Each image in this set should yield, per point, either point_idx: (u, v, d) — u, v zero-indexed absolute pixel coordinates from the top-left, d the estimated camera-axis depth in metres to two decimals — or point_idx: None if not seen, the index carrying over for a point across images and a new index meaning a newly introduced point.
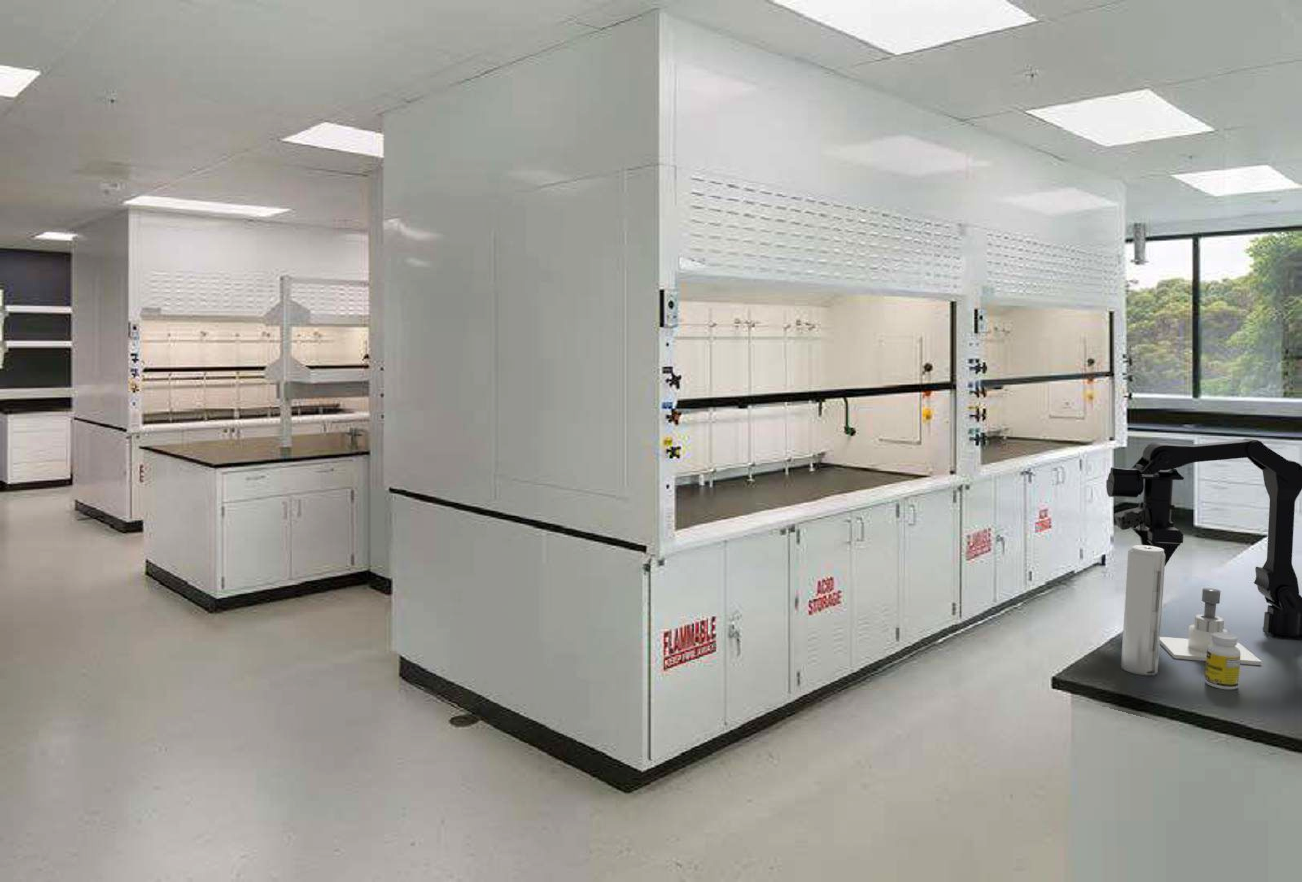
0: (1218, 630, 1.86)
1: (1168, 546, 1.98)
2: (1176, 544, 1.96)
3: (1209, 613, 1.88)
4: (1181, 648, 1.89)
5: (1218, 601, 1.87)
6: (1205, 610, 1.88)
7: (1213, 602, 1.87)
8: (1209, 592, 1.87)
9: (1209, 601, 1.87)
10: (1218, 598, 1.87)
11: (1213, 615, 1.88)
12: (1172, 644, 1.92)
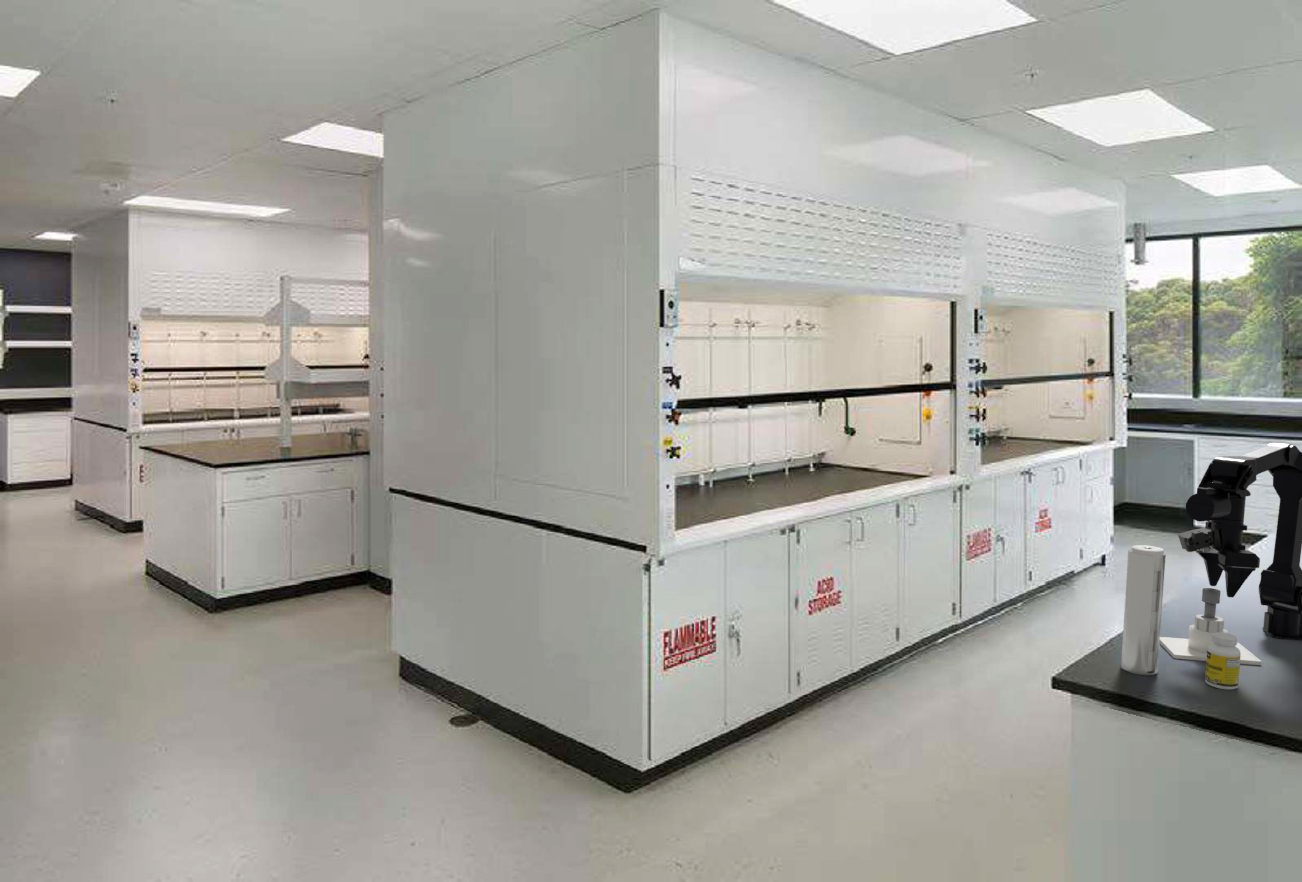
0: (1218, 630, 1.86)
1: (1241, 571, 1.81)
2: (1251, 569, 1.78)
3: (1209, 613, 1.88)
4: (1181, 648, 1.89)
5: (1218, 601, 1.87)
6: (1205, 610, 1.88)
7: (1213, 602, 1.87)
8: (1209, 592, 1.87)
9: (1209, 601, 1.87)
10: (1218, 598, 1.87)
11: (1213, 615, 1.88)
12: (1172, 644, 1.92)
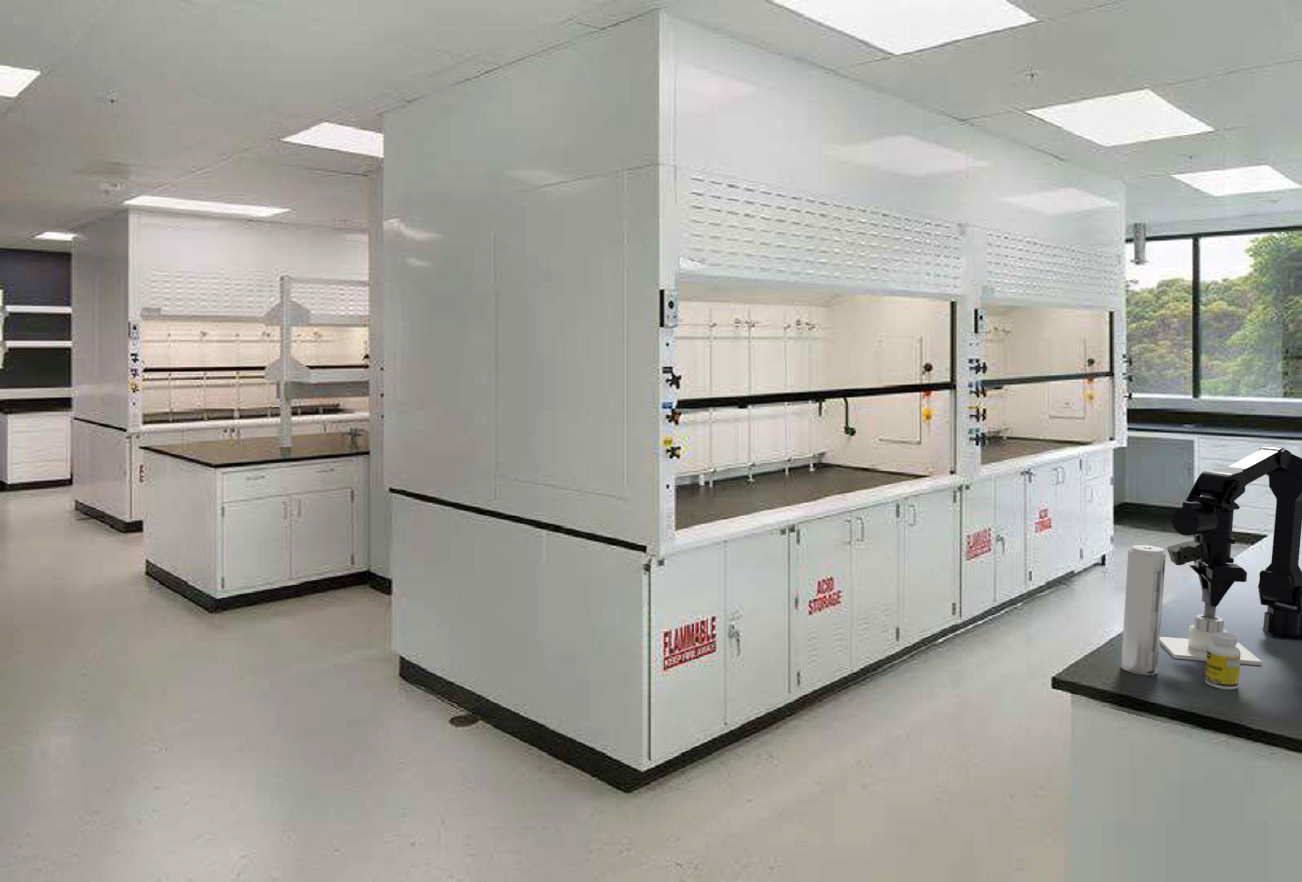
0: (1218, 630, 1.86)
1: (1224, 581, 1.84)
2: None
3: (1209, 613, 1.88)
4: (1181, 648, 1.89)
5: None
6: (1205, 610, 1.88)
7: None
8: None
9: (1209, 601, 1.87)
10: None
11: (1213, 615, 1.88)
12: (1172, 644, 1.92)
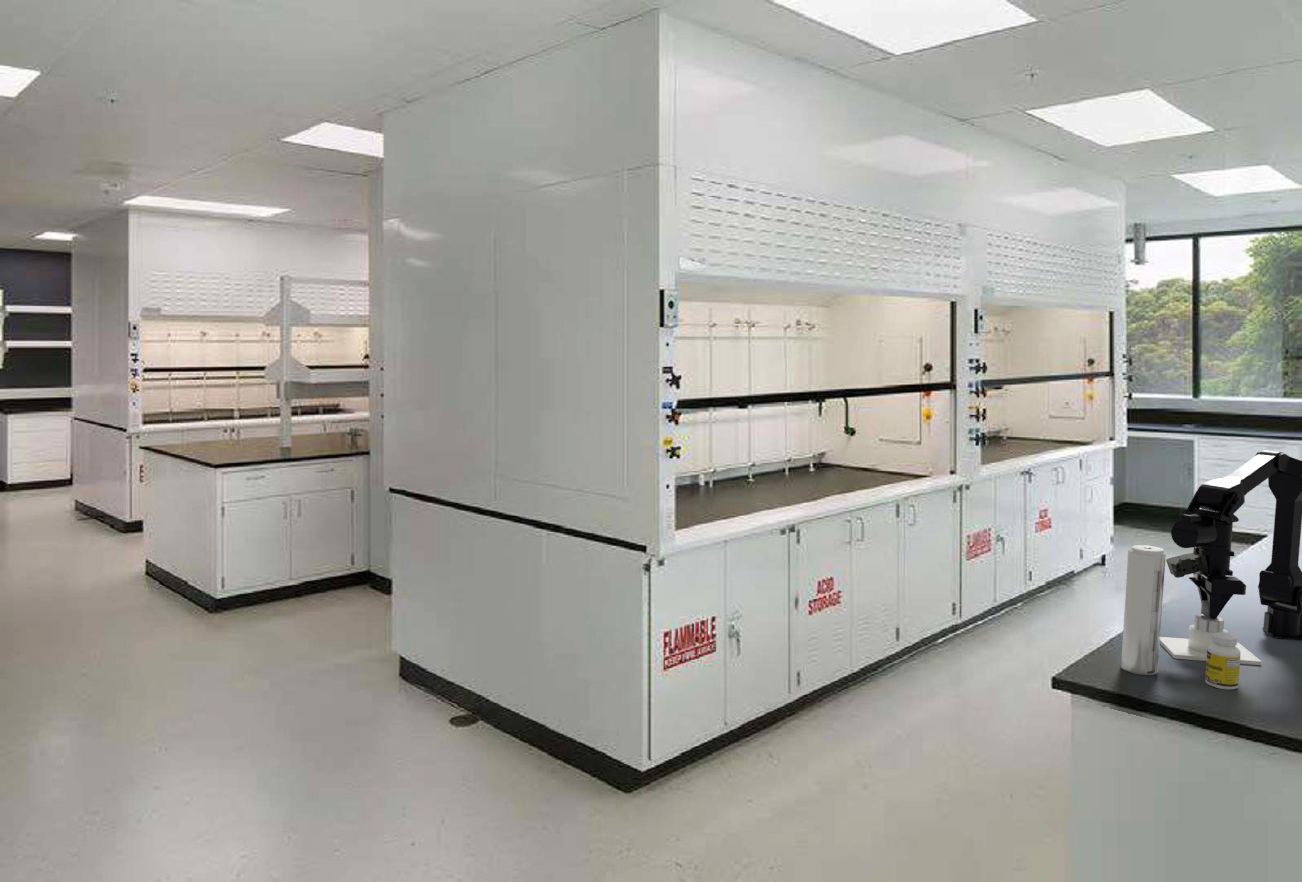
0: (1218, 630, 1.86)
1: (1223, 593, 1.85)
2: None
3: None
4: (1181, 648, 1.89)
5: None
6: None
7: None
8: None
9: (1208, 613, 1.87)
10: None
11: None
12: (1172, 644, 1.92)
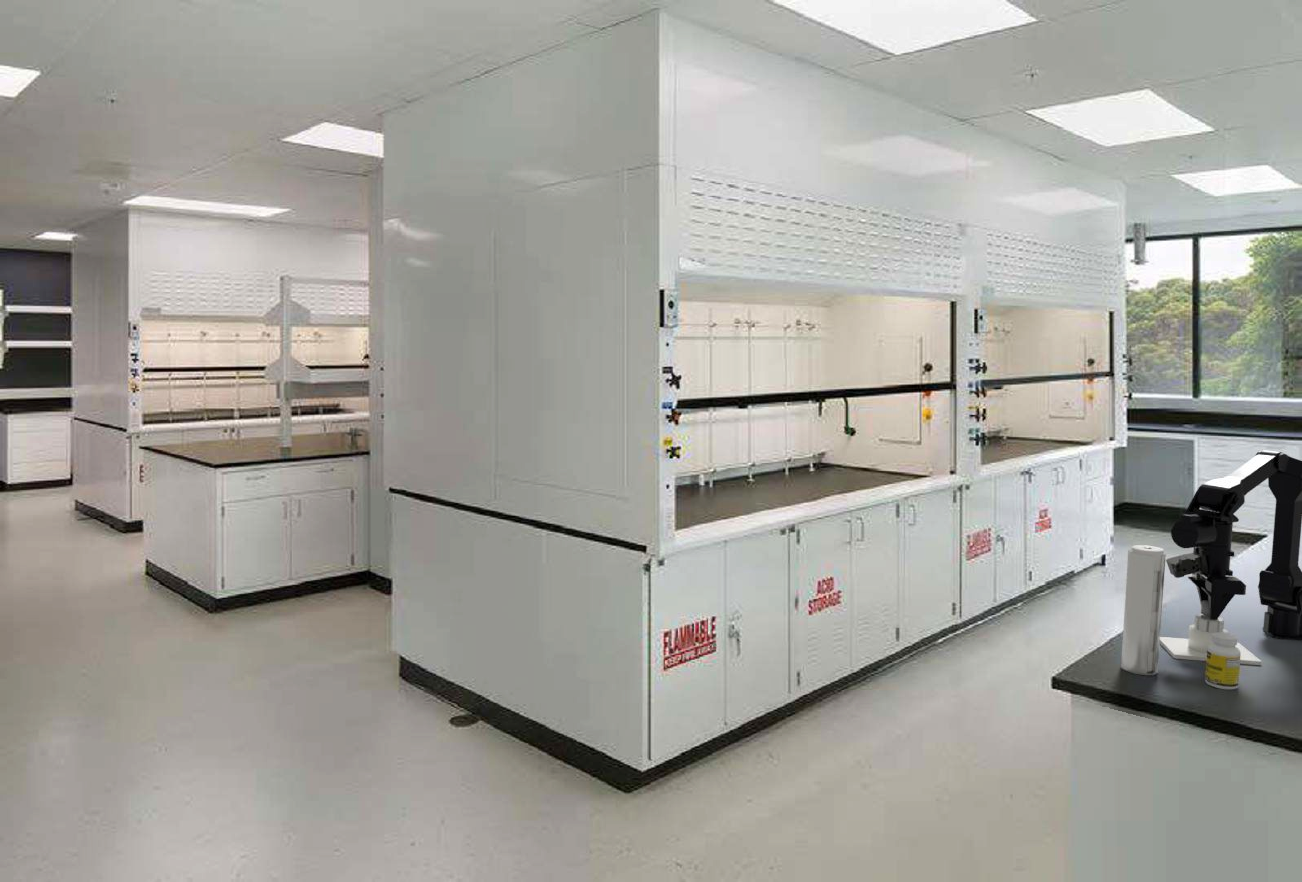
0: (1218, 630, 1.86)
1: (1224, 594, 1.84)
2: None
3: None
4: (1181, 648, 1.89)
5: None
6: None
7: None
8: (1208, 604, 1.87)
9: (1208, 613, 1.87)
10: None
11: None
12: (1172, 644, 1.92)
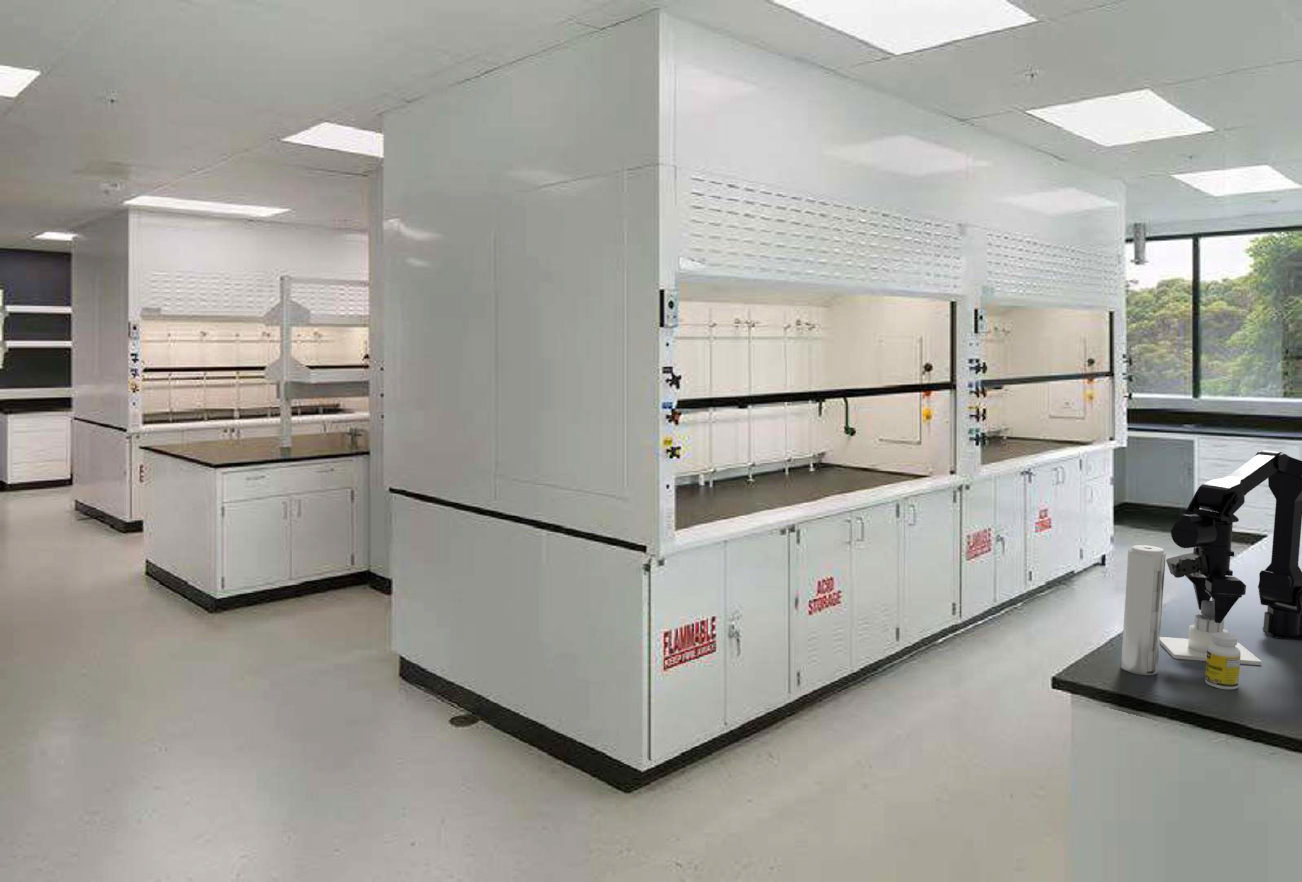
0: (1218, 630, 1.86)
1: (1228, 597, 1.82)
2: (1237, 595, 1.80)
3: None
4: (1181, 648, 1.89)
5: None
6: None
7: (1212, 614, 1.87)
8: (1208, 604, 1.87)
9: (1208, 613, 1.87)
10: None
11: None
12: (1172, 644, 1.92)
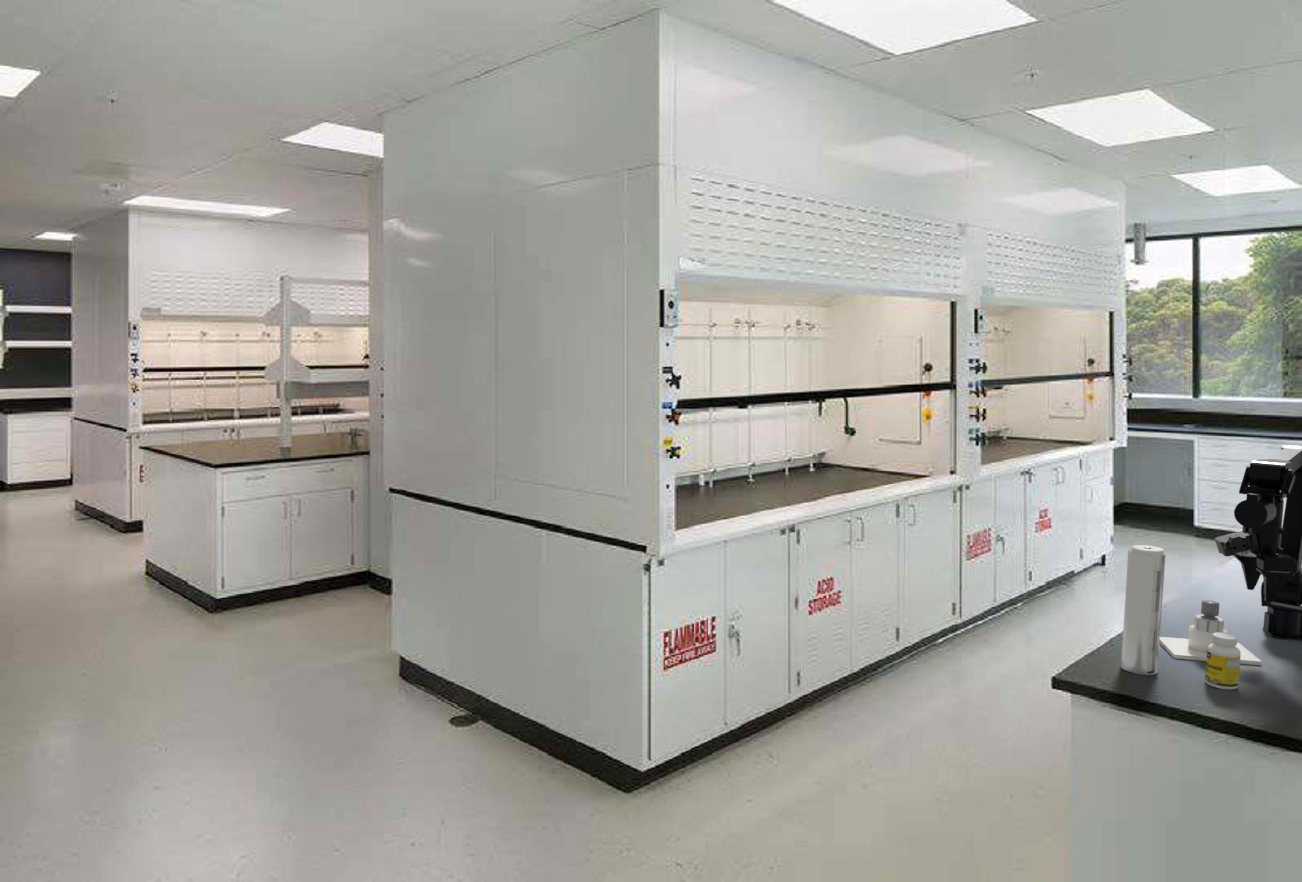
0: (1218, 630, 1.86)
1: (1280, 575, 1.79)
2: (1290, 573, 1.77)
3: None
4: (1181, 648, 1.89)
5: (1217, 613, 1.87)
6: None
7: (1212, 614, 1.87)
8: (1208, 604, 1.87)
9: (1208, 613, 1.87)
10: (1217, 610, 1.87)
11: None
12: (1172, 644, 1.92)
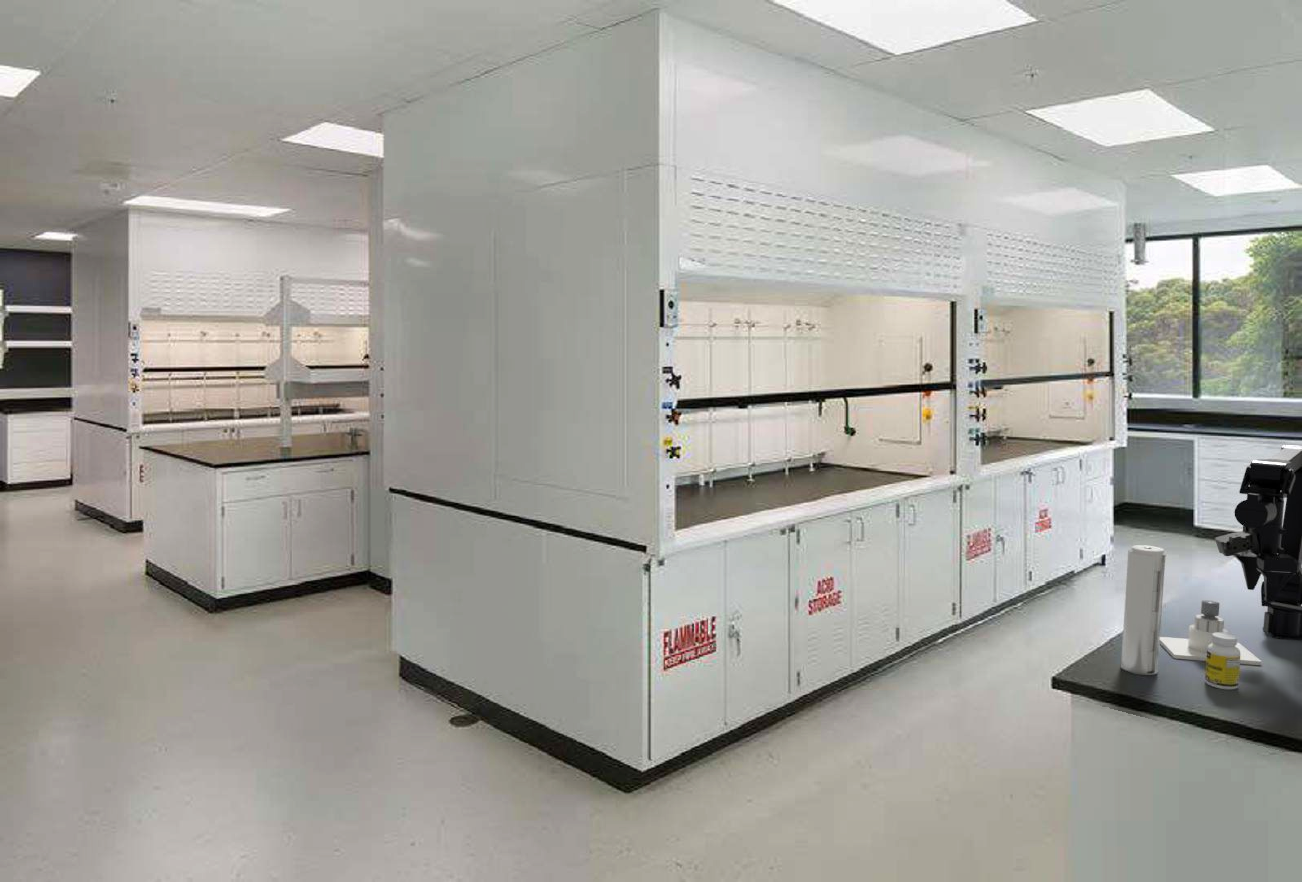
0: (1218, 630, 1.86)
1: (1280, 575, 1.79)
2: (1290, 573, 1.77)
3: None
4: (1181, 648, 1.89)
5: (1217, 613, 1.87)
6: None
7: (1212, 614, 1.87)
8: (1208, 604, 1.87)
9: (1208, 613, 1.87)
10: (1217, 610, 1.87)
11: None
12: (1172, 644, 1.92)
